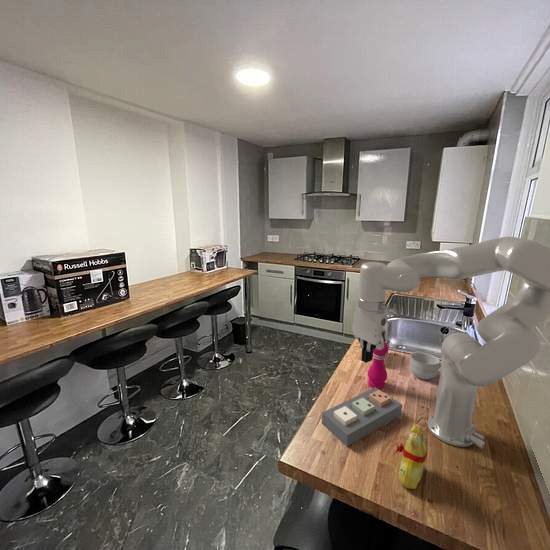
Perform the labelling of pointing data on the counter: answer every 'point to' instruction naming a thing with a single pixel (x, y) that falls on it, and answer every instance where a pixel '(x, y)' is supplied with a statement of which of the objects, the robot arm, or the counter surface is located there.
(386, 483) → the counter surface
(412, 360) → the teacup
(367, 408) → the tile two
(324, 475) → the counter surface
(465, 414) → the robot arm
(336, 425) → the console
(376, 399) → the tile three
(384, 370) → the pink bowling pin
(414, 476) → the chocolate bunny
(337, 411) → the tile one
